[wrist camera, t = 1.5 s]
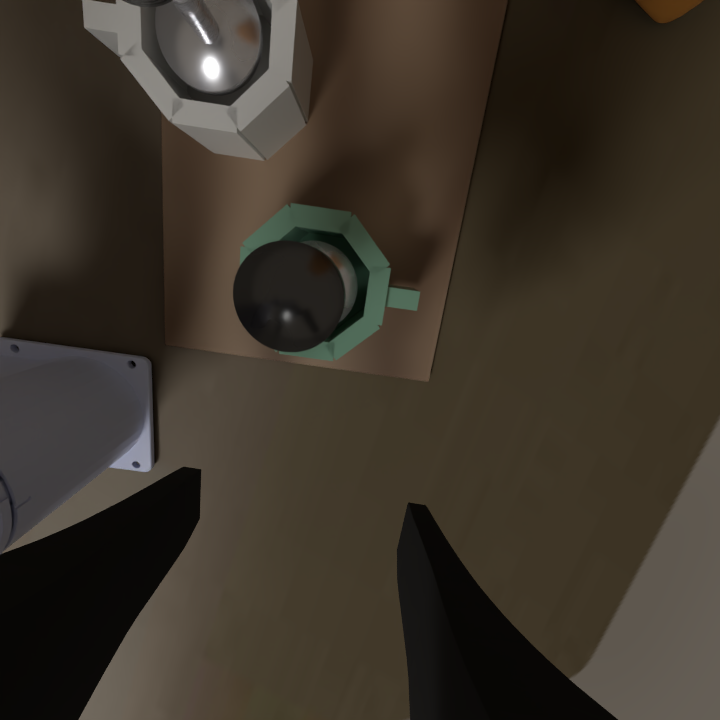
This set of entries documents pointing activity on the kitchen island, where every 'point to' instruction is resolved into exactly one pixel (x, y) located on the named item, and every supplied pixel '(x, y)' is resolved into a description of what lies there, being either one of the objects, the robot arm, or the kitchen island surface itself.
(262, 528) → the kitchen island surface
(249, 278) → the black knob plunger
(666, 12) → the coffee package
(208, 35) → the grey plunger
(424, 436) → the kitchen island surface
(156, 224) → the kitchen island surface
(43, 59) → the kitchen island surface
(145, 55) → the white faceted cup
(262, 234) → the green octagonal cup
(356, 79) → the board
